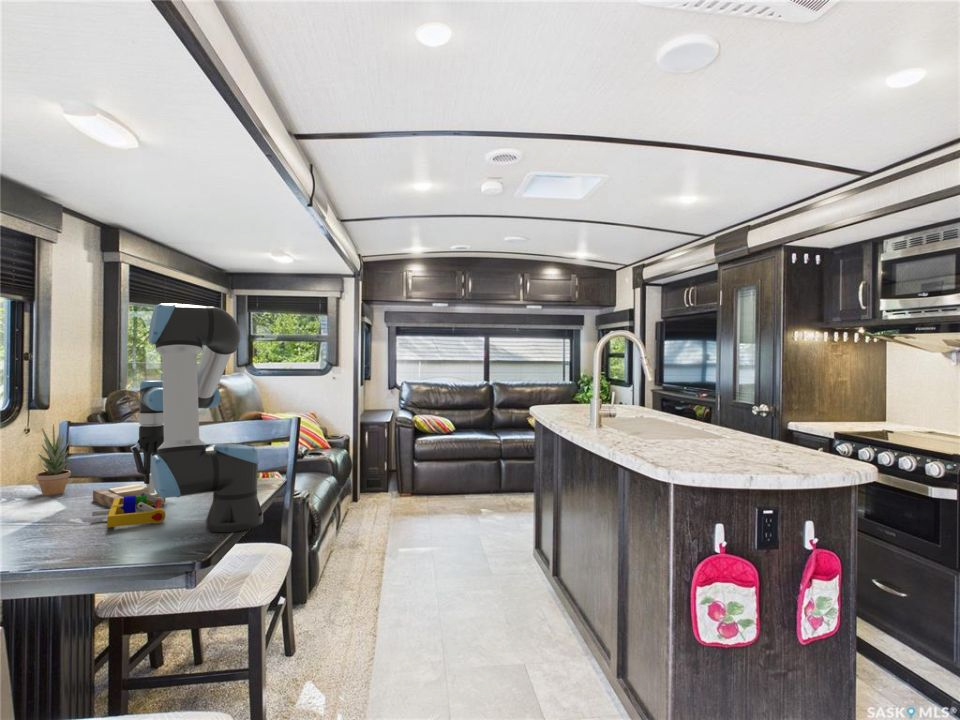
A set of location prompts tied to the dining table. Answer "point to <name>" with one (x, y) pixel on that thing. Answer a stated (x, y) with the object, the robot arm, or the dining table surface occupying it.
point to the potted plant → (53, 467)
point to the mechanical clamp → (134, 510)
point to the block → (129, 490)
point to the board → (104, 497)
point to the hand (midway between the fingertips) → (150, 492)
